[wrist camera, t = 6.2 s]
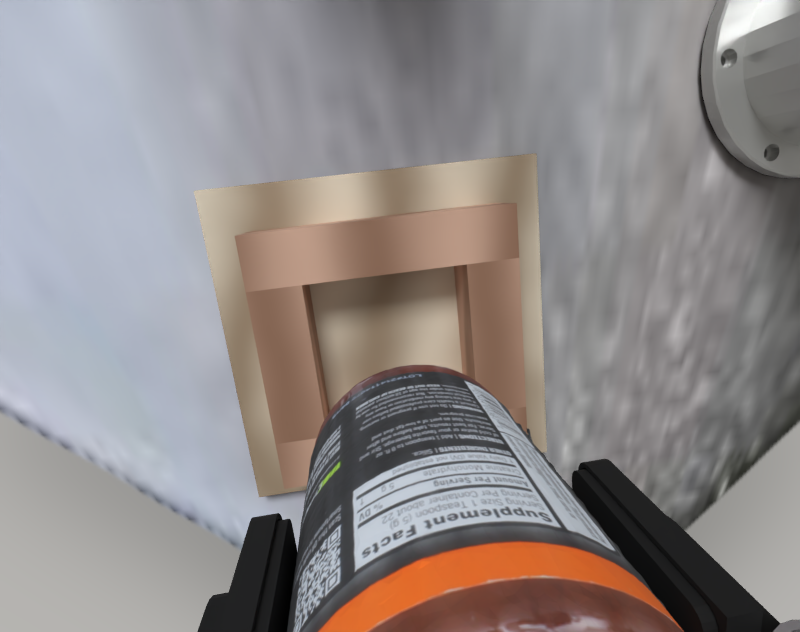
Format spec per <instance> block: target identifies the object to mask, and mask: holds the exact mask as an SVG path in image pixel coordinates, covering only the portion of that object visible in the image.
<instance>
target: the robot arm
mask: <svg viewBox="0 0 800 632" xmlns="http://www.w3.org/2000/svg"><path fill="white" fill-rule="evenodd" d="M701 81H702V94H703V99H704V103H705V107H706V111H707V114H708V118H709V120H710V122H711V124H712V126H713V128H714V131H715V133H716V135H717V137H718V138H719V140H720V141H721V142H722V143H723V145H724V146H725V147H726V149H727V150H728V151H729V152H730V154H732V155H733V156H734V157H735V158H737V159H738V160H739V161H740V162H741V163H743V164H744V165H745V166H747V167H749V168H751V169H753V170H755V171H757V172H759V173H762V174H765V175H769V176H774V177H779V178H800V0H717V3H716V5H715V8H714V10H713V12H712V15H711V17H710V19H709V23H708V27H707V31H706V35H705V39H704V43H703V51H702V62H701ZM572 490H573V491H574V493H575V495H576V496H577V497H578V498H579V499H580V500H581V501H582V502H583V503H584V505H585V507H586V509H587V511H588V512H589V513H590V514H591V515H592V516H593V517H594V518H595V519H596V520H597V522H598V523H599V525H600V526H601V528H602V529H603V531H604V532H605V533H606V535H607V536H608V537H609V538H610V539H611V540H612V541H613V542H614V543H615V544H616V545H618V547H619V549H620V551H621V553H622V555H623V556H624V558H625V559H626V560H627V561H628V562H629V563H630V564H631V565H632V566H633V568H634V569H635V570H636V571H637V572H638V573H639V574H640V575H641V576H642V577H643V579H644V580H645V582H646V583H647V585H648V586H649V588H650V589H651V591H652V592H653V594H654V595H655V596H656V597H657V598H658V599H659V600H660V601H661V602H662V603H663V604H664V606H665V608H666V610H667V611H668V612H669V614H670V615H671V616H672V617H673V619H674V620H675V621H676V622H677V624H678V625H679V626H680V627H681V629H682V630H683V631H684V632H800V620H790V621H787V622H784V623H781V624H780V623H779V622H778V621H777V620H776V619H775V618H774V617H773V616H772V615H771V614H770V613H769V612H768V611H767V610H766V609H765V608H764V607H763V606H762V605H761V604H759V602H757V601H756V600H755V599H754V598H753V597H752V596H751V595H750V594H749V593H748V592H747V591H746V590H745V589H744V588H743V587H742V586H741V585H740V584H739V583H738V582H737V581H736V580H735V579H734V578H733V577H732V576H731V575H730V574H729V573H728V572H726V571H725V570H724V569H723V568H722V567H721V566H720V565H719V564H718V563H717V562H716V561H715V560H714V559H713V558H712V557H711V556H710V555H709V554H708V553H707V552H706V551H705V550H704V549H703V548H702V547H701V546H700V545H699V544H697V542H696V541H694V540H693V539H692V538H691V537H690V536H689V535H688V534H687V533H686V532H685V531H684V530H683V529H682V528H681V527H680V526H679V525H678V524H677V523H676V522H675V521H673V520H672V519H671V518H670V517H668V516H666V515H665V514H664V513H663V512H662V511H661V510H660V509H659V508H658V507H657V506H656V505H655V504H654V503H653V502H652V501H651V500H650V499H649V498H648V497H646V496H645V495H644V494H643V493H642V492H641V491H640V490H639V489H638V488H637V487H636V486H635V485H634V484H633V483H632V482H631V481H630V480H629V479H628V478H627V477H626V476H625V475H624V474H623V473H622V472H621V471H620V470H619V469H618V468H617V467H616V466H615V465H614V464H613V463H612V462H611V461H609V460H608V459H601V460H595V461H589V462H583V463H581V464H580V465H579V470H577V471H574V472H573V474H572ZM296 557H297V548H296V543H295V538H294V533H293V528H292V523H291V520H290V519H286V520H282V517H281V515H280V514H279V513H277V514H271V515H265V516H259V517H253V518H252V519H251V521H250V524H249V527H248V530H247V534H246V537H245V540H244V544H243V547H242V550H241V554H240V557H239V560H238V563H237V567H236V570H235V573H234V577H233V580H232V583H231V587H230V590H229V593H223V594H217V595H213V596H212V597H211V598H210V599H209V602H208V604H207V606H206V609H205V612H204V615H203V617H202V620H201V623H200V626H199V629H198V632H287V626H288V618H289V610H290V601H291V596H292V588H293V582H294V573H295V566H296Z"/></svg>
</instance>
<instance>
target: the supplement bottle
mask: <svg viewBox="0 0 800 632" xmlns="http://www.w3.org/2000/svg"><path fill="white" fill-rule="evenodd" d="M527 433H528V435H527V434H526V432H525V431H524V430H523V429H522V426H521V424H518V423H516V422H515V421H514V419H513V417H512V416H511V414H510V412H509V410H508V409H507V408H506V407H505V406H504V405H503V404H502V403H501V402H500V401H498V400H497V399H496V398H495V397H494V395H493V394H492V393H491V392H490V391H489V390H487V389H486V388H485V387H483V386H482V385H481V384H480V383H478V382H477V381H475V380H474V379H472V378H471V377H469V376H467V375H465V374H462V373H460V372H458V371H455V370H452V369H450V368H446V367H441V366H435V365H408V366H400V367H395V368H392V369H389V370H385V371H382V372H379V373H377V374H374V375H372V376H370V377H368V378H366V379H364V380H363V381H361V382H359V383H358V384H356V385H355V386H354V387H353V388H352V389H351V390H350V391H349V392H348V393H346V394H345V395H344V396H343V397H342V398H341V399H340V400H339V401H338V402H337V403H336V404H335V405H334V406H333V408H332V410H331V411H330V412H329V414H328V415H327V417H326V418H325V420H324V422H323V424H322V426H321V428H320V431H319V434H318V436H317V439H316V442H315V446H314V449H313V453H312V456H311V460H310V467H309V476H308V482H307V488H306V497H305V503H304V512H303V516H302V522H301V529H300V537H299V545H298V553H297V557H296V566H295V573H294V582H293V588H292V596H291V601H290V610H289V618H288V626H287V632H684V631H683V630H682V629H681V627H680V626H679V625H678V624H677V622H676V621H675V620H674V619H673V617H672V616H671V615H670V614H669V612H668V611H667V610H666V608H665V606H664V604H663V603H662V602H661V601H660V600H659V599H658V598H657V597H656V596H655V595H654V594H653V592H652V591H651V589H650V588H649V586H648V585H647V583H646V582H645V580H644V579H643V577H642V576H641V575H640V574H639V573H638V572H637V571H636V570H635V569H634V568H633V566H632V565H631V564H630V563H629V562H628V561H627V560H626V559H625V558H624V556H623V555H622V553H621V551H620V549H619V547H618V545H616V544H615V543H614V542H613V541H612V540H611V539H610V538H609V537H608V536H607V535H606V533H605V532H604V531H603V529H602V528H601V526H600V525H599V523H598V522H597V520H596V519H595V518H594V517H593V516H592V515H591V514H590V513H589V512H588V511H587V509H586V507H585V505H584V503H583V502H582V501H581V500H580V499H579V498H578V497H577V496H576V495H575V493H574V491H573V490H572V488H571V487H570V486H569V485H568V484H567V483H566V482H565V481H564V480H563V479H562V477H561V476H560V475H559V474H558V473H557V472H556V470H555V468H554V466H553V465H552V464H551V463H549V462H548V460H547V459H546V457H545V455H544V454H543V453H542V452H541V451H540V450H539V449H538V448H537V447H536V446H535V445H534V443H533V441H532V438H531V434H530V430H529V429H528V428H527Z"/></svg>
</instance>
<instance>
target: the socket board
mask: <svg viewBox="0 0 800 632" xmlns="http://www.w3.org/2000/svg"><path fill="white" fill-rule="evenodd" d="M194 194H195V198H196V203H197V208H198V212H199V217H200V222H201V226H202V231H203V236H204V240H205V245H206V250H207V254H208V259H209V264H210V268H211V273H212V278H213V283H214V287H215V292H216V297H217V301H218V306H219V311H220V315H221V320H222V325H223V329H224V334H225V339H226V343H227V348H228V353H229V357H230V362H231V367H232V372H233V376H234V381H235V386H236V390H237V395H238V400H239V404H240V409H241V414H242V418H243V423H244V428H245V432H246V437H247V442H248V446H249V451H250V456H251V461H252V465H253V470H254V475H255V479H256V484H257V489H258V493H259V497H264V496H270V495H277V494H283V493H289V492H296V491H302V490H306V488H307V482H308V476H309V467H310V460H311V456H312V453H313V449H314V446H315V442H316V439H317V436H318V434H319V431H320V428H321V426H322V424H323V422H324V420H325V418H326V417H327V415H328V414H329V412H330V411H331V410H332V408H333V406H334V405H335V404H336V403H337V402H338V401H339V400H340V399H341V398H342V397H343V396H344V395H345V394H346V393H348V392H349V391H350V390H351V389H352V388H353V387H354V386H355V385H356V384H358V383H359V382H361V381H363V380H364V379H366V378H368V377H370V376H372V375H374V374H377V373H379V372H382V371H385V370H389V369H392V368H395V367H400V366H408V365H435V366H441V367H446V368H450V369H452V370H455V371H458V372H460V373H462V374H465V375H467V376H469V377H471V378H472V379H474V380H475V381H477V382H478V383H480V384H481V385H482V386H483V387H485V388H486V389H487V390H489V391H490V392H491V393H492V394H493V395H494V397H495V398H496V399H497V400H498V401H500V402H501V403H502V404H503V405H504V406H505V407H506V408H507V409H508V410H509V412H510V414H511V416H512V417H513V419H514V421H515V422H516V423H518V424H521V426H522V429H523V430H524V431H525V432H526V434H527V435H528V433H527V428H528V429H529V430H530V434H531V438H532V441H533V443H534V445H535V446H536V447H537V448H538V449H539V450H540V451H541V452H547V444H546V416H545V387H544V358H543V329H542V300H541V271H540V242H539V213H538V184H537V155H536V154H526V155H517V156H508V157H499V158H490V159H481V160H471V161H462V162H453V163H444V164H435V165H426V166H417V167H407V168H398V169H389V170H380V171H371V172H362V173H353V174H343V175H334V176H325V177H316V178H307V179H298V180H288V181H279V182H270V183H261V184H252V185H243V186H234V187H224V188H215V189H206V190H197V191H194Z"/></svg>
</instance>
